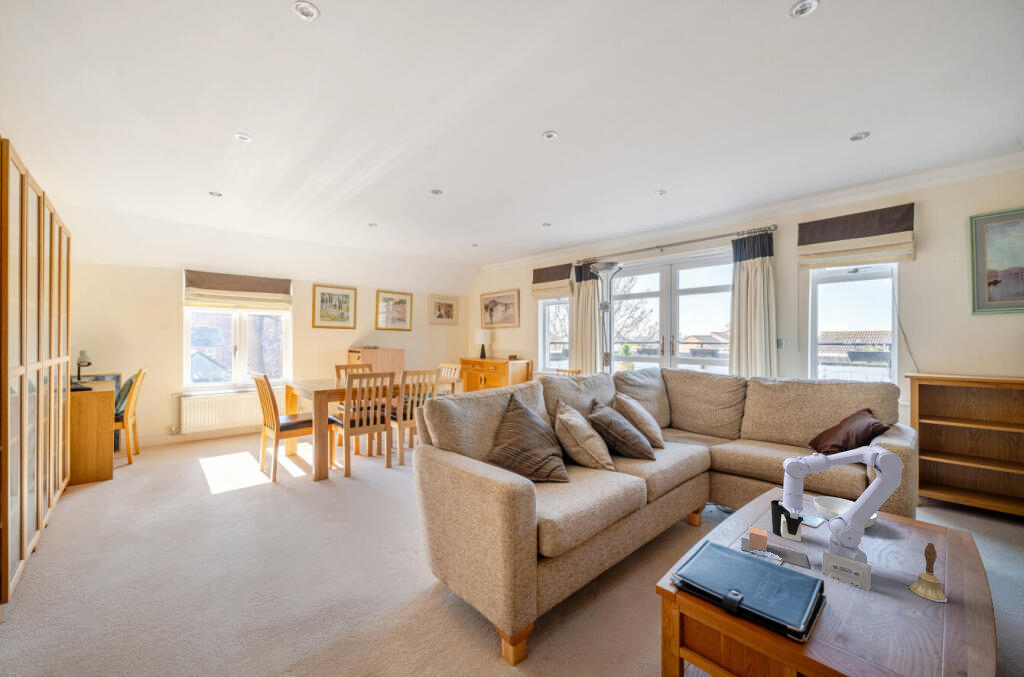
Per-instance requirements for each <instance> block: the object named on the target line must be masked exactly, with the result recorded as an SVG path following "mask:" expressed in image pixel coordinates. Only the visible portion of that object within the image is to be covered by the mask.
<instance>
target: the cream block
mask: <svg viewBox="0 0 1024 677" xmlns="http://www.w3.org/2000/svg"><path fill="white" fill-rule="evenodd" d="M802 525H803V524H802V522H801V523H800V525H799V527H798V530H797V533H796V535H791V534H788V529H787V522H786V519H785V517H784V515H783V514H782V517H781V534H782V537H781V538H785V539H788V540H793V541H797V542H801V541H802V528H803V527H802Z"/></svg>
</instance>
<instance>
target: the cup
mask: <svg viewBox="0 0 1024 677" xmlns="http://www.w3.org/2000/svg"><path fill="white" fill-rule="evenodd" d="M779 502H783V500H780V499H773V500H771V501H770V508H771V509H770V510H771V525H772V526H771V527H772V528H771V529H772V533H773V535H776V536H778V537H779V538H783V537H782V534H781V517H782V514H783V512H784V510H783V508H782V506H781V505H779ZM783 515H784V514H783Z"/></svg>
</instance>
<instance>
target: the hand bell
mask: <svg viewBox="0 0 1024 677" xmlns="http://www.w3.org/2000/svg"><path fill="white" fill-rule="evenodd" d="M923 554H924V559H925V563H926V564H925V572H920V573H919V574H918V577H917V580H916V581H915V582H914V583H911V584H910V585H909V586H908V588H909V590H910V591H911V592H912V593H914V594H915V595H917V596H919V597H920V596H921V597H920V598H923V597H925V598H928V599H933V600H945V599H946V597H947V596H946V594H944V592H943V590H942V588H941V581H940V579H939V578H938V577H936V576H934V575H935V574H934V567H935V566H934V565H935V563H936V561H937V558H938V557H937V556H938V555H937V554H938V553H937V550H936V548H935V544H934V543H932V542H928V543H927V545H926V547H925V548H924V553H923ZM925 598H924V599H925Z"/></svg>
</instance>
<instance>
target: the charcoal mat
mask: <svg viewBox="0 0 1024 677" xmlns="http://www.w3.org/2000/svg"><path fill="white" fill-rule="evenodd" d="M740 539H741V541H740V542H741V544H740V545H741V546H740V551H742V552H746V553H749V552H750V551H753V549H749V538H745V537H741V538H740ZM766 551H767V552H771V553H773V554H775V555H778V556H779V557H780V558H782V559H781V560H782V561H784V562H783V563H787V564H790V565H794V566H798V567H801V568H805V569H808V570H809V569H810V566H809V562H808V557H807V555H806V553H803V552H800V551H797V550H792V549H788V548H784V547H781V546H780V547H779V546H776V545H773V544H768V543H767V547H766ZM782 561H781V562H782Z"/></svg>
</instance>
